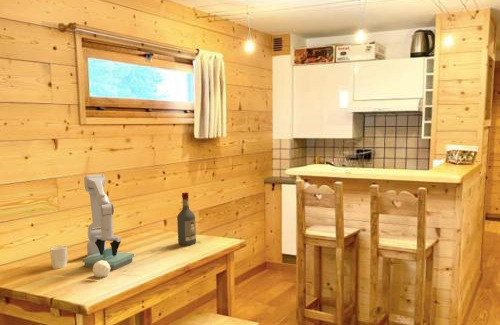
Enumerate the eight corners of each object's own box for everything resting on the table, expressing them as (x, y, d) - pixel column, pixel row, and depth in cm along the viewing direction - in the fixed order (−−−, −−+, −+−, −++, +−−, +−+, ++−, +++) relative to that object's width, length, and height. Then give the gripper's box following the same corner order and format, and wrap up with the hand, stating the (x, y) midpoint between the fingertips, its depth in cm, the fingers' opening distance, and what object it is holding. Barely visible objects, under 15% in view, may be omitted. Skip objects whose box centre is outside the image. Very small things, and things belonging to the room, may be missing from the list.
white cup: (71, 265, 231) (70, 246, 230) (60, 270, 223) (59, 250, 223) (59, 264, 233) (57, 245, 233) (47, 269, 226) (46, 249, 225)
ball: (97, 283, 211) (88, 268, 212) (112, 273, 215) (103, 259, 217) (98, 279, 205) (89, 264, 206) (114, 269, 209) (105, 255, 211)
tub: (84, 268, 226) (84, 260, 226) (103, 260, 239) (103, 252, 239) (114, 271, 219) (114, 263, 219) (132, 263, 232) (132, 255, 232)
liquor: (176, 244, 268) (173, 193, 266) (186, 241, 276) (184, 191, 274) (188, 246, 263) (186, 194, 261) (198, 242, 271) (196, 192, 269)
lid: (82, 262, 226) (81, 251, 225) (103, 254, 240) (102, 243, 239) (114, 265, 218) (113, 254, 218) (134, 256, 232) (133, 246, 232)
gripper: (89, 229, 227) (91, 256, 228) (113, 230, 221) (115, 258, 222) (99, 226, 233) (100, 252, 234) (122, 227, 228) (124, 254, 229)
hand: (108, 255), depth 229 cm, fingers open, 7 cm apart
